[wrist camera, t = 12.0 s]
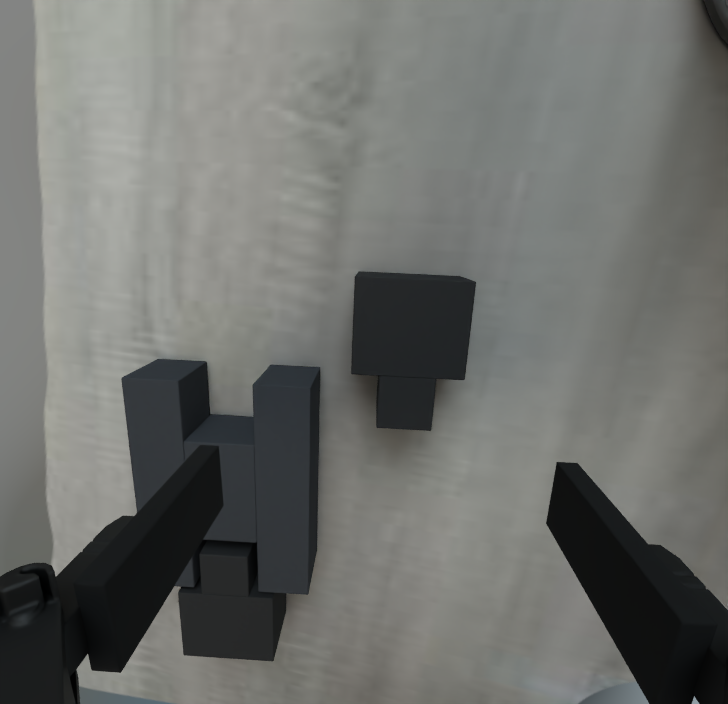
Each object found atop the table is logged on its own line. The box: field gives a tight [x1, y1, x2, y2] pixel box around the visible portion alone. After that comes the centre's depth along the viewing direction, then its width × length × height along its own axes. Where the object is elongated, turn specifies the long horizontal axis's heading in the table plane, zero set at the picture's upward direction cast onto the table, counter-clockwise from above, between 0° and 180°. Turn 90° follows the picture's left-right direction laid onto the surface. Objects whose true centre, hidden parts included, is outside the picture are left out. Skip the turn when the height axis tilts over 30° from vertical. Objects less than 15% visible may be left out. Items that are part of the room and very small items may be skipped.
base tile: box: [122, 359, 320, 595], centre depth 29 cm, size 12×16×4 cm
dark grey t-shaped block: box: [351, 272, 476, 431], centre depth 26 cm, size 7×10×4 cm
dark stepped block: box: [178, 540, 286, 661], centre depth 32 cm, size 7×10×4 cm
